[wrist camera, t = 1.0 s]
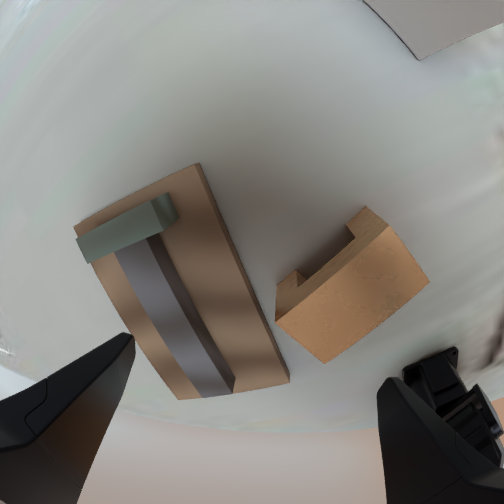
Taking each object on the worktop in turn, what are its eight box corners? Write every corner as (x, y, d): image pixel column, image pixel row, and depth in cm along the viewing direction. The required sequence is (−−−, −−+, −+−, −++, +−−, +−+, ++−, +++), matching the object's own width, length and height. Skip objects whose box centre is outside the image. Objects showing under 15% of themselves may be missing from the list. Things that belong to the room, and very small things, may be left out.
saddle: (403, 253, 20) (430, 281, 16) (318, 323, 23) (324, 364, 19) (365, 205, 19) (389, 225, 15) (276, 285, 22) (274, 322, 18)
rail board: (289, 373, 26) (289, 407, 22) (181, 392, 28) (170, 421, 24) (199, 162, 20) (179, 168, 16) (81, 222, 22) (51, 238, 18)
